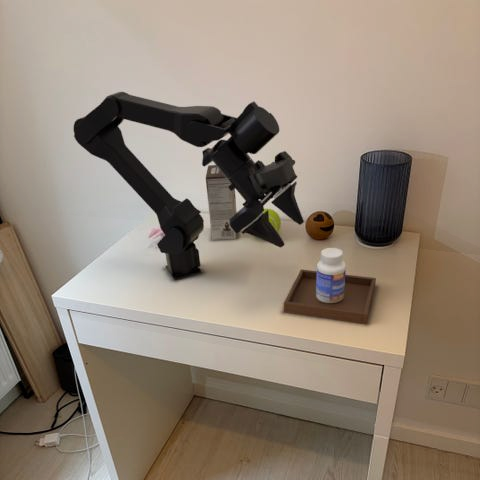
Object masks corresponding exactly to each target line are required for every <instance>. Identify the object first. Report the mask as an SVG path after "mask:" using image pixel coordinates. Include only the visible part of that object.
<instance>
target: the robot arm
mask: <svg viewBox="0 0 480 480" xmlns="http://www.w3.org/2000/svg"><path fill="white" fill-rule="evenodd" d="M125 120H126V121H129V122H133V123H138V124H142V125H146V126H149V127H153V128H156V129H160V130H164V131H168V132H171V133H172V134H175V135H176V137H177V138H179V139H180V140H181V141H183V142H185V143H187V144H189V145H190V146H191V145H192V146H194V147H196V148H204V147H206V148H205V149H204V150H202V151H201V152H202V160H201V161H202V162H201V165H202V167H206V166H209V164H211V163H212V162H213V164H214V165H216V166H217V167H218V168H219V169H220V170H221V172H222V173H223V174H224V175H225V177H226V178H227V179H228V180H229V181H230V183H231V185H230V186H229V187H228V188H229V189H230V190H231V191H232V190H234V189H235V191H237V193H238V194H239V195H240V196H241V197H242V199H243V200H244V202H243V203H242V206H243V207H241V208H240V209H239V210H238V211H236V212H237V213H236V214H235V215H234V216H233V217H232V218H231V219H230V220H229V221H230V227H231V228H232V229H233V230H234V232H235V233H236V234H237V235H238V233H241V234H242V235H244V234H247V235H250V236H252V237H256V238H258V239H261V240H263V241H265V242H267V243H270V244H272V245H274V246H276V247H278V248H282V247H284V246H285V244H286V243H285V242H284V240H283V239H282V236H281V235H280V234H279V232H278V233H277V231H276V230H275V229H274V227H273V226H272V224H271V223H270V221H269V212H268V210H267V211H266V212H265V213H263V211H264V209H265V205H266V204H267V203H268V202H269V201H270V200H271V199H272V201H271V204H272V205H274V206H275V208H277V209H278V210H279V211H281V212H282V213H283V214H285V215H286V216H287V217H288V218H290V219H291V220H292V221H293V222H294V223H297V224H298V225H302V224H304V222H305V221H304V218H303V215H302V212H301V210H300V207H299V205H298V204H299V203H298V202H297V198H296V196H295V193H296V192H295V191H296V186H297V184H298V182H297V181H296V179H297V178H298V175H297V174H296V172H295V169H294V166H295V164H296V160H295V159H293V158H292V156H291V155H290V154H289V153H288V152H287V151H286V150H284V151H280V152H278V153H277V154H276V155H275V156H274V161H272V162H271V163H269V164H267V165H265V164H264V162H263V161H261V160H259V159H258V160H257V161H256V162H255V160H254V159H253V158H251V156H250V155H256V154H257V153H259V152H260V151H261V150H262V149H263V148H264V147H265V146H266V145H268V143H270V142H271V140H273V139H274V138H275V137H276V136H277V135H278V134H279V133H280V125H279V123H278V120H277V119H276V117H275V116H274V115H273V114H272V113H271V112H269V111H268V110H267V109H266V108H264V107H262V106H260V105H258V103H256V101H251V102H249V103H248V104H247V105H246V106H245V108H244V109H243V110H242V112H241V113H240V114H239V115H238V116H237V117H235V116H231V115H229V114H224V113H222V111H221V110H220V109H219V108H218V107H215V106H212V105H191V106H189V105H188V106H177V105H173V104H169V103H165V102H161V101H157V100H153V99H150V98H145V97H140V96H137V95H133V94H129V93H128V92H126V91H118V92H114V93H112V94H109V95H107V96H105V98H104V99H103V100H102V101H101V103H100V104H99V105H97V106H96V107H95V108H94V109H92V110H91V111H89V112H88V114H86V115H85V116H83V117H79V118H77V119H76V120H75V121H74V124H73V129H72V130H73V134H74V135H73V138H74V140H75V141H76V142H77V144H78V145H80V146H81V147H82V148H83V149H84V150H85V151H87V152H88V153H89V154H90V155H92V156H94V157H96V158H99V159H101V160H103V161H106V162H107V163H108V164H109V165H110V166H111V167H112V168H113V169H114V171H116V172H117V174H118V175H119V176H120V177H121V178H122V179H123V180H124V181H125V182H126V183H127V184H128V186H130V188H131V189H132V190H133V191H134V192H135V193H136V194H137V195H138V196H139V197H140V198H141V199H142V201H144V202H145V203H146V205H147V206H148V207H149V208H150V209H151V210H152V212H153V213H154V214H155V215H156V217H157V220H158V224H159V226H160V228H161V230H162V231H163V233H164V234H165V236H164V237H162V238H161V239H160V240H159V241H158V242H157V243H156V245H157V248H158V250H159V252H160V254H165V259H166V265H165V270H166V271H167V272H168V274H169V276H171V278H172V279H173V281H175V280H179V279H184V278H187V277H191V276H194V275H195V276H196V275H198V274H199V275H200V274H202V269H201V258H200V250H199V249H198V248H197V246H196V243H195V241H197V240H198V239H199V236H200V235H201V234H202V232H203V231H204V227H205V226H204V225H205V223H204V222H205V220H204V218H203V216H202V215H201V213H202V211H201V210H200V209H198V208H197V207H195V205H194V204H193V203H192V201H191V200H190V199H189V198H187V197H186V198H185V199H184V200H182V201H181V200H179V199H176V198H175V197H174V196H172V194H171V193H170V192H169V191H168V190H167V189H166V188H165V187H164V186H163V185H162V183H160V181H159V180H158V179H157V178H156V177H155V176H154V175H153V174H152V172H150V170H148V168H147V167H146V166H145V165H144V164H143V163H142V162H141V161H140V159H139V158H137V156H136V155H135V154H134V153H133V151H131V149H130V148H129V147H128V146H127V145H126V143H125V139H124V136H123V132H122V130H121V128H120V127H119V126H120V125H121V124H122V123H123V122H124V121H125ZM228 135H230V137H228V138H227V139H223V138H225V137H226V136H228ZM215 141H216V143H215V144H214V145H213V146H212V147H207V146H208V145H210V144H211V143H213V142H215ZM249 154H250V155H249ZM294 181H295V182H294Z"/></svg>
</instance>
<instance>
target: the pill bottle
mask: <svg viewBox="0 0 480 480" xmlns="http://www.w3.org/2000/svg"><path fill="white" fill-rule="evenodd" d="M343 259H344V252H343V250H342V249H340V248H338V247H326V248H324V249H322V250H321V252H320V259H319V261H318V262H317V264H316V271H317V279H316V297H317V298H318V300H320V301H322V302H324V303H337V302H339V301H341V300H342V299H343V297H344V286H345V275H346V271H347V269H346V268H347V267H346V266H347V265H346V262H345V261H344V260H343Z"/></svg>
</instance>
